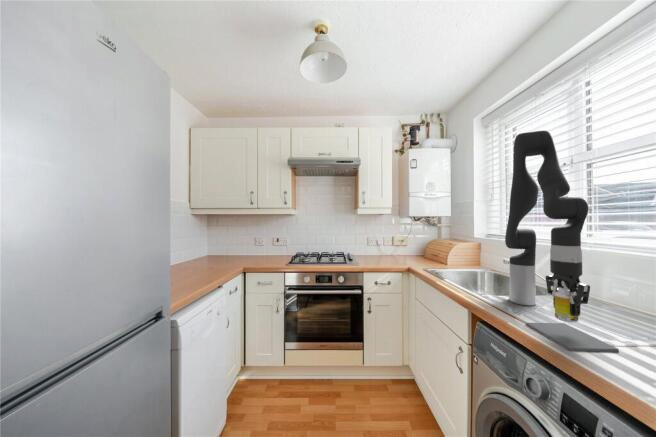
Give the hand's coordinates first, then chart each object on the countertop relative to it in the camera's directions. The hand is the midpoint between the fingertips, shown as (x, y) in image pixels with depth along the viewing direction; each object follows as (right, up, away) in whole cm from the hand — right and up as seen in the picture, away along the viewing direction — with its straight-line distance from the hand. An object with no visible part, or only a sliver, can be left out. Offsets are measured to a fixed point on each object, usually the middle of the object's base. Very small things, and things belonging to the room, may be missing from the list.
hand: (566, 311), depth 82 cm
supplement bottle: (0, -3, 0) cm, 3 cm away
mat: (0, -8, 0) cm, 8 cm away
